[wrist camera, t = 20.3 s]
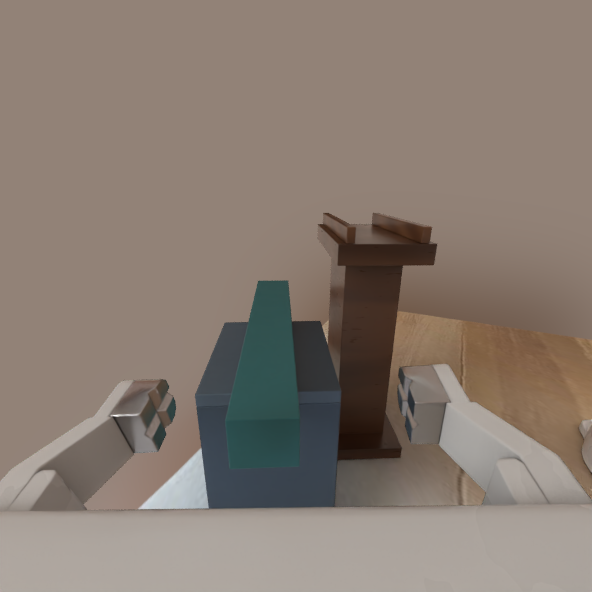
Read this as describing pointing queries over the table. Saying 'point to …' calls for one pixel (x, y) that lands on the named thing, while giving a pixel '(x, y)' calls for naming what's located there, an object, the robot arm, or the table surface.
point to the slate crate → (313, 427)
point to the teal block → (265, 387)
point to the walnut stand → (368, 322)
